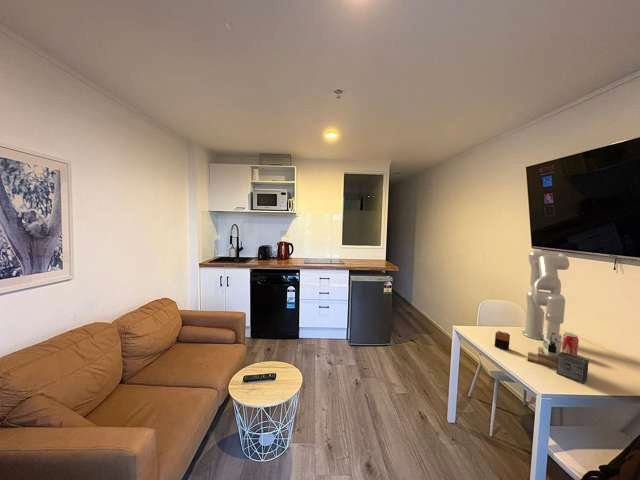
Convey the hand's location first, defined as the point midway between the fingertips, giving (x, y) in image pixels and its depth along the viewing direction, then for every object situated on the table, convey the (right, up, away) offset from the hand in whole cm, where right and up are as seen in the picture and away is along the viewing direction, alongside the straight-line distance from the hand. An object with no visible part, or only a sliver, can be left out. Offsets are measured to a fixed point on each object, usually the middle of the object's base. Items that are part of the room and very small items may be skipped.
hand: (551, 349), depth 149 cm
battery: (-15, -6, +18) cm, 25 cm away
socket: (0, -8, +1) cm, 8 cm away
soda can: (+21, -8, +12) cm, 25 cm away
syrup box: (0, -5, 0) cm, 5 cm away
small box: (-1, -9, -12) cm, 15 cm away
